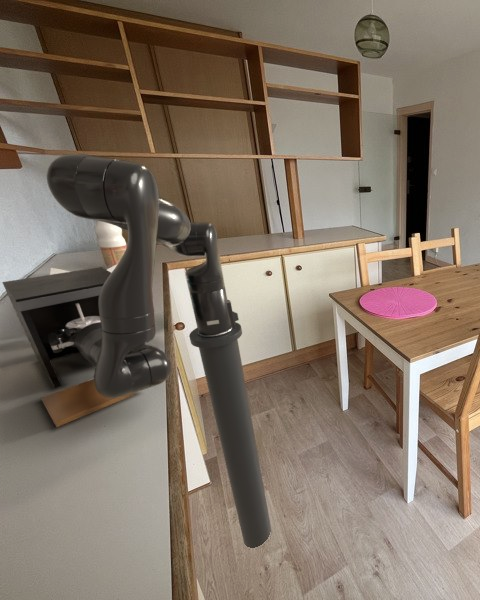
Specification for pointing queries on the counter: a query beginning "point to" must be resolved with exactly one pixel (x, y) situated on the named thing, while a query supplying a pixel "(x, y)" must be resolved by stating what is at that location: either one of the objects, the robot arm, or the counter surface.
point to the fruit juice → (110, 243)
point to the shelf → (54, 308)
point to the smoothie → (82, 320)
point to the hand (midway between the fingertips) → (83, 323)
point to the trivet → (76, 402)
